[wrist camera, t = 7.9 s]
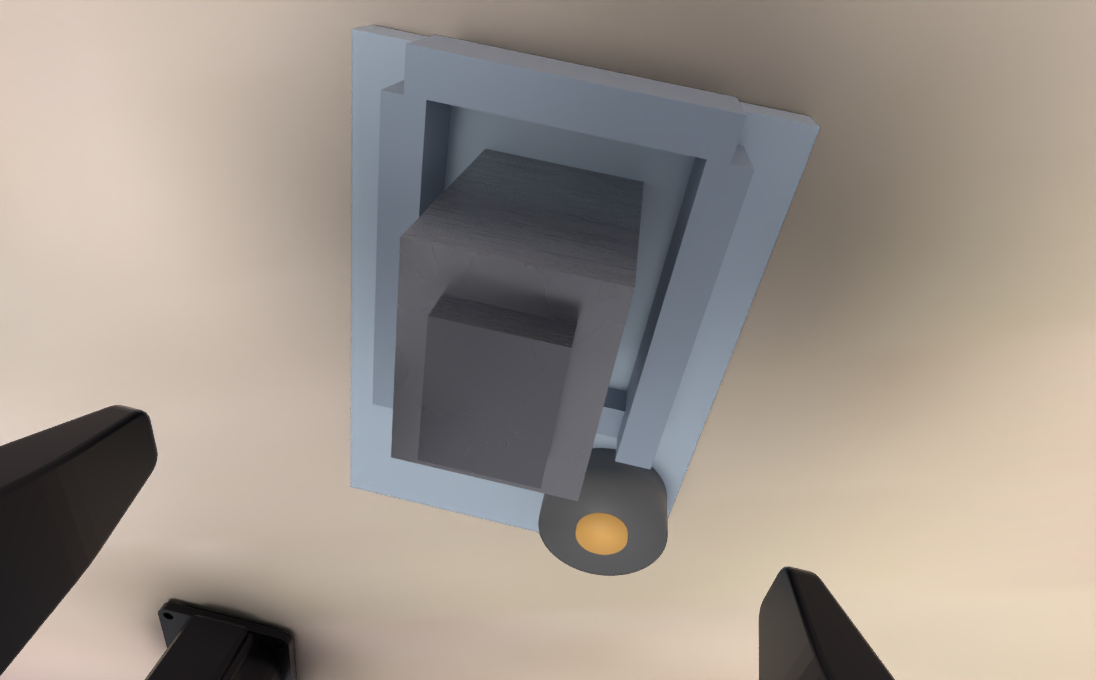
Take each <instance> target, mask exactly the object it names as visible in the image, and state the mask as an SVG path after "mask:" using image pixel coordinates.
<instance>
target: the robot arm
mask: <svg viewBox="0 0 1096 680" xmlns="http://www.w3.org/2000/svg"><path fill="white" fill-rule="evenodd" d="M157 456H158V453H157V448H156V443H155V439H154V434H153V429H152V425H151V420H150V417H149V416H148V414H147V413H146V412H144V411H142V410H139V409H135V408H131V407H126V406H122V405H114V406H110V407H107V408H104V409H101V410H99V411H96V412H93V413H90V414H88V415H85V416H82V417H79V418H77V419H74V420H71V421H68V422H66V423H63V424H60V425H57V426H55V427H52V428H49V429H46V430H44V431H41V432H38V433H35V434H32V435H30V436H27V437H24V438H21V439H19V440H16V441H13V442H10V443H8V444H5V445H2V446H0V676H1V675H2V673H3V672H4V671H5V670H6V668H7V667H8V666H9V665H10V663H11V662H12V661H13V660H14V659H15V657H16V656H17V655H18V654H19V652H20V651H21V650H22V649H23V647H24V646H25V645H26V644H27V642H28V641H29V640H30V639H31V638H32V636H33V635H34V634H35V633H36V631H37V630H38V629H39V628H40V626H41V625H42V624H43V623H44V622H45V620H46V619H47V618H48V617H49V615H50V614H51V613H52V612H53V610H54V609H55V608H56V607H57V606H58V604H59V603H60V602H61V601H62V599H63V598H64V597H65V596H66V594H67V593H68V592H69V591H70V590H71V588H72V587H73V586H74V585H75V583H76V582H77V581H78V580H79V578H80V577H81V576H82V574H83V573H84V572H85V571H86V569H87V568H88V567H89V565H90V564H91V563H92V561H93V560H94V558H95V557H96V556H97V554H98V553H99V551H100V550H101V548H102V547H103V545H104V544H105V542H106V541H107V539H108V538H109V536H110V535H111V533H112V532H113V530H114V529H115V527H116V526H117V524H118V523H119V521H120V520H121V518H122V517H123V515H124V514H125V512H126V511H127V509H128V508H129V506H130V505H131V503H132V502H133V500H134V499H135V497H136V496H137V494H138V493H139V491H140V490H141V488H142V487H143V485H144V484H145V482H146V481H147V479H148V478H149V476H150V475H151V473H152V471H153V470H154V467H155V465H156V462H157ZM158 615H159V618H160V622H161V626H162V630H163V634H164V638H165V641H166V645H167V650H166V651H165V652H164V654H163V655H162V657H161V658H160V659H159V661H158V662H157V664H156V665H155V666H154V668H153V669H152V670H151V672H150V673H149V675H148V676H147V677H146V679H145V680H296V669H295V656H294V643H293V637H292V636H291V635H290V634H289V633H287V632H285V631H283V630H279V629H275V628H271V627H267V626H263V625H259V624H255V623H251V622H247V621H243V620H239V619H235V618H232V617H228V616H224V615H220V614H216V613H212V612H208V611H204V610H200V609H196V608H192V607H188V606H184V605H180V604H176V603H172V602H166V603H165V604H164V605H163V606H162V607H161V609H160V610H159V611H158ZM759 680H895V679H894V678H893V676H892V675H891V674H890V672H889V671H888V670H887V668H886V667H885V666H884V664H883V663H882V661H881V660H880V659H879V657H878V656H877V655H876V653H875V652H874V651H873V649H872V648H871V647H870V645H869V644H868V643H867V641H866V640H865V638H864V637H863V636H862V634H861V633H860V632H859V630H858V629H857V628H856V626H855V625H854V624H853V622H852V621H851V619H850V618H849V617H848V615H847V614H846V613H845V611H844V610H843V609H842V607H841V606H840V605H839V603H838V602H837V601H836V599H835V598H834V596H833V595H832V594H831V592H830V591H829V590H828V588H827V587H826V586H825V584H824V583H823V582H822V580H821V579H820V578H819V577H818V576H817V575H816V574H815V573H813V572H810V571H806V570H802V569H798V568H793V567H784V568H782V569H781V570H780V572H779V573H778V575H777V577H776V579H775V580H774V582H773V584H772V586H771V587H770V589H769V591H768V593H767V595H766V596H765V598H764V600H763V602H762V604H761V608H760V612H759Z"/></svg>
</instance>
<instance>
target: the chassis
mask: <svg viewBox="0 0 1096 680" xmlns="http://www.w3.org/2000/svg"><path fill="white" fill-rule="evenodd" d="M819 130H820V126H819V125H818V124H817V123H816V122H815V121H814V120H813V119H812V118H811V117H810V116H806V115H802V114H797V113H792V112H787V111H782V110H778V109H773V108H768V107H763V106H758V105H754V104H749V103H744V102H739V101H738V99H737V97H733V96H728V95H723V94H719V93H714V92H709V91H704V90H699V89H695V88H690V87H685V86H680V85H675V84H671V83H666V82H661V81H656V80H651V79H647V78H642V77H637V76H632V75H627V74H623V73H618V72H613V71H608V70H604V69H599V68H594V67H589V66H584V65H580V64H575V63H570V62H565V61H560V60H556V59H551V58H546V57H541V56H536V55H532V54H527V53H522V52H517V51H512V50H508V49H503V48H498V47H493V46H488V45H484V44H479V43H474V42H469V41H464V40H460V39H455V38H450V37H445V36H441V35H433V36H429V37H428V36H423V35H418V34H414V33H409V32H404V31H399V30H394V29H390V28H385V27H380V26H375V25H369V26H364V27H359V28H354V29H352V222H351V487H353V488H358V489H362V490H366V491H370V492H374V493H378V494H382V495H386V496H391V497H395V498H399V499H403V500H407V501H411V502H415V503H420V504H424V505H428V506H432V507H436V508H440V509H444V510H448V511H453V512H457V513H461V514H465V515H469V516H473V517H477V518H481V519H486V520H490V521H494V522H498V523H502V524H506V525H510V526H514V527H519V528H523V529H527V530H531V531H535V532H539V533H540V536H541V538H542V541H543V542H544V544H545V546H546V547H547V548H548V549H549V551H550V552H551V553H552V554H553V555H554V556H556V557H557V558H558V559H559V560H561V561H562V562H564V563H565V564H567V565H569V566H571V567H573V568H575V569H578V570H580V571H584V572H587V573H591V574H596V575H607V576H615V575H624V574H630V573H633V572H636V571H639V570H642V569H644V568H646V567H647V566H649V565H650V564H652V563H653V562H654V561H656V560H657V559H658V558H659V556H660V555H661V554H662V552H663V550H664V548H665V546H666V543H667V536H668V529H667V519H668V517H669V514H670V512H671V509H672V506H673V504H674V501H675V499H676V496H677V494H678V491H679V488H680V486H681V483H682V481H683V478H684V476H685V473H686V471H687V468H688V465H689V463H690V460H691V458H692V455H693V453H694V450H695V447H696V445H697V442H698V440H699V437H700V435H701V432H702V430H703V427H704V424H705V422H706V419H707V417H708V414H709V412H710V409H711V406H712V404H713V401H714V399H715V396H716V394H717V391H718V388H719V386H720V383H721V381H722V378H723V376H724V373H725V371H726V368H727V365H728V363H729V360H730V358H731V355H732V353H733V350H734V347H735V345H736V342H737V340H738V337H739V335H740V332H741V330H742V327H743V324H744V322H745V319H746V317H747V314H748V312H749V309H750V306H751V304H752V301H753V299H754V296H755V294H756V291H757V288H758V286H759V283H760V281H761V278H762V276H763V273H764V271H765V268H766V265H767V263H768V260H769V258H770V255H771V253H772V250H773V247H774V245H775V242H776V240H777V237H778V235H779V232H780V230H781V227H782V224H783V222H784V219H785V217H786V214H787V212H788V209H789V206H790V204H791V201H792V199H793V196H794V194H795V191H796V188H797V186H798V183H799V181H800V178H801V176H802V173H803V171H804V168H805V165H806V163H807V160H808V158H809V155H810V153H811V150H812V147H813V145H814V142H815V140H816V137H817V135H818V132H819ZM484 149H490V150H495V151H499V152H504V153H509V154H514V155H518V156H523V157H528V158H533V159H537V160H542V161H547V162H552V163H556V164H561V165H566V166H571V167H575V168H580V169H585V170H590V171H594V172H599V173H604V174H609V175H613V176H618V177H623V178H628V179H632V180H637V181H642V182H644V184H643V196H642V208H641V221H640V233H639V245H638V257H637V270H636V282H635V290H634V294H633V297H632V301H631V305H630V309H629V312H628V316H627V320H626V324H625V327H624V331H623V335H622V339H621V342H620V346H619V350H618V354H617V357H616V361H615V365H614V369H613V372H612V376H611V380H610V383H609V387H608V391H607V395H606V398H605V402H604V406H603V410H602V413H601V417H600V421H599V425H598V428H597V432H596V436H595V440H594V443H593V447H592V451H591V455H590V458H589V462H588V466H587V470H586V473H585V477H584V481H583V485H582V488H581V492H580V496H579V500H578V501H574V500H570V499H565V498H561V497H557V496H553V495H548V494H544V493H540V492H536V491H531V490H527V489H523V488H519V487H514V486H510V485H506V484H502V483H497V482H493V481H489V480H485V479H480V478H476V477H472V476H468V475H463V474H459V473H455V472H451V471H446V470H442V469H438V468H434V467H429V466H425V465H421V464H417V463H412V462H408V461H404V460H400V459H395V458H391V442H392V419H393V395H394V371H395V348H396V324H397V300H398V277H399V253H400V236H401V235H402V234H403V233H404V232H405V231H406V230H407V229H408V228H409V227H410V226H411V225H412V224H413V223H414V222H415V221H416V220H417V219H418V218H419V217H420V216H421V215H422V214H423V213H424V212H425V211H426V210H427V209H428V207H429V206H430V205H431V204H432V203H433V202H434V201H435V200H436V199H437V198H438V197H439V196H440V195H441V194H442V193H443V192H444V191H445V190H446V189H447V188H448V187H449V186H450V185H451V184H452V183H453V182H454V181H455V180H456V178H457V177H458V176H459V175H460V174H461V173H462V172H463V171H464V170H465V169H466V168H467V167H468V166H469V165H470V164H471V163H472V162H473V161H474V160H475V159H476V158H477V157H478V156H479V155H480V154H481V153H482V152H483V151H484Z"/></svg>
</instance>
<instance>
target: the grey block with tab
mask: <svg viewBox="0 0 1096 680" xmlns="http://www.w3.org/2000/svg"><path fill="white" fill-rule="evenodd" d="M643 184H644V182H642V181H637V180H632V179H628V178H623V177H618V176H613V175H609V174H604V173H599V172H594V171H590V170H585V169H580V168H575V167H571V166H566V165H561V164H556V163H552V162H547V161H542V160H537V159H533V158H528V157H523V156H518V155H514V154H509V153H504V152H499V151H495V150H490V149H484V151H483V152H482V153H481V154H480V155H479V156H478V157H477V158H476V159H475V160H474V161H473V162H472V163H471V164H470V165H469V166H468V167H467V168H466V169H465V170H464V171H463V172H462V173H461V174H460V175H459V176H458V177H457V178H456V180H455V181H454V182H453V183H452V184H451V185H450V186H449V187H448V188H447V189H446V190H445V191H444V192H443V193H442V194H441V195H440V196H439V197H438V198H437V199H436V200H435V201H434V202H433V203H432V204H431V205H430V206H429V207H428V209H427V210H426V211H425V212H424V213H423V214H422V215H421V216H420V217H419V218H418V219H417V220H416V221H415V222H414V223H413V224H412V225H411V226H410V227H409V228H408V229H407V230H406V231H405V232H404V233H403V234H402V235H401V236H400V253H399V277H398V300H397V324H396V348H395V371H394V395H393V419H392V442H391V458H395V459H400V460H404V461H408V462H412V463H417V464H421V465H425V466H429V467H434V468H438V469H442V470H446V471H451V472H455V473H459V474H463V475H468V476H472V477H476V478H480V479H485V480H489V481H493V482H497V483H502V484H506V485H510V486H514V487H519V488H523V489H527V490H531V491H536V492H540V493H544V494H548V495H553V496H557V497H561V498H565V499H570V500H574V501H578V500H579V496H580V492H581V488H582V485H583V481H584V477H585V473H586V470H587V466H588V462H589V458H590V455H591V451H592V447H593V443H594V440H595V436H596V432H597V428H598V425H599V421H600V417H601V413H602V410H603V406H604V402H605V398H606V395H607V391H608V387H609V383H610V380H611V376H612V372H613V369H614V365H615V361H616V357H617V354H618V350H619V346H620V342H621V339H622V335H623V331H624V327H625V324H626V320H627V316H628V312H629V309H630V305H631V301H632V297H633V294H634V290H635V282H636V270H637V257H638V245H639V233H640V221H641V208H642V196H643Z"/></svg>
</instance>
